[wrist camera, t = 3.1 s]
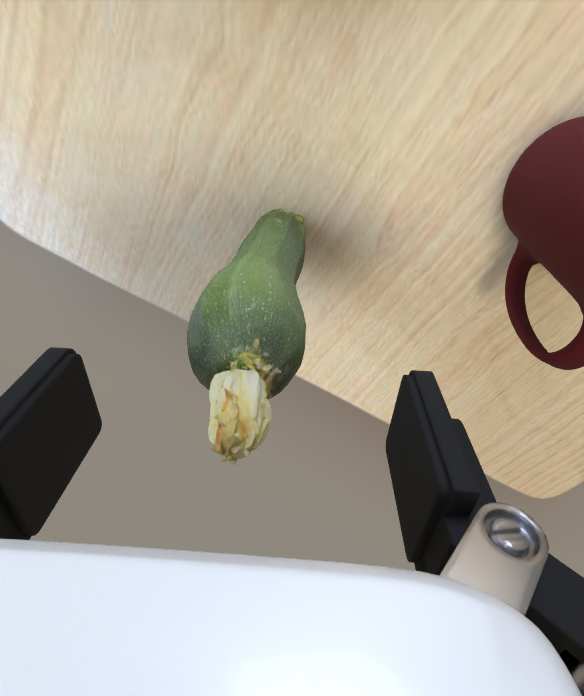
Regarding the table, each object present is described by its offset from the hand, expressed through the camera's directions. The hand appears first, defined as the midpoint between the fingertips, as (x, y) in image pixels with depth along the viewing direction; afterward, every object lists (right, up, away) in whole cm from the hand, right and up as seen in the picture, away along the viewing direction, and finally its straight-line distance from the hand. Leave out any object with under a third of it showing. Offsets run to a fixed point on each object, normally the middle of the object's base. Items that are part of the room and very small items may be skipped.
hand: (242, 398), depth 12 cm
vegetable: (0, +10, +14) cm, 17 cm away
